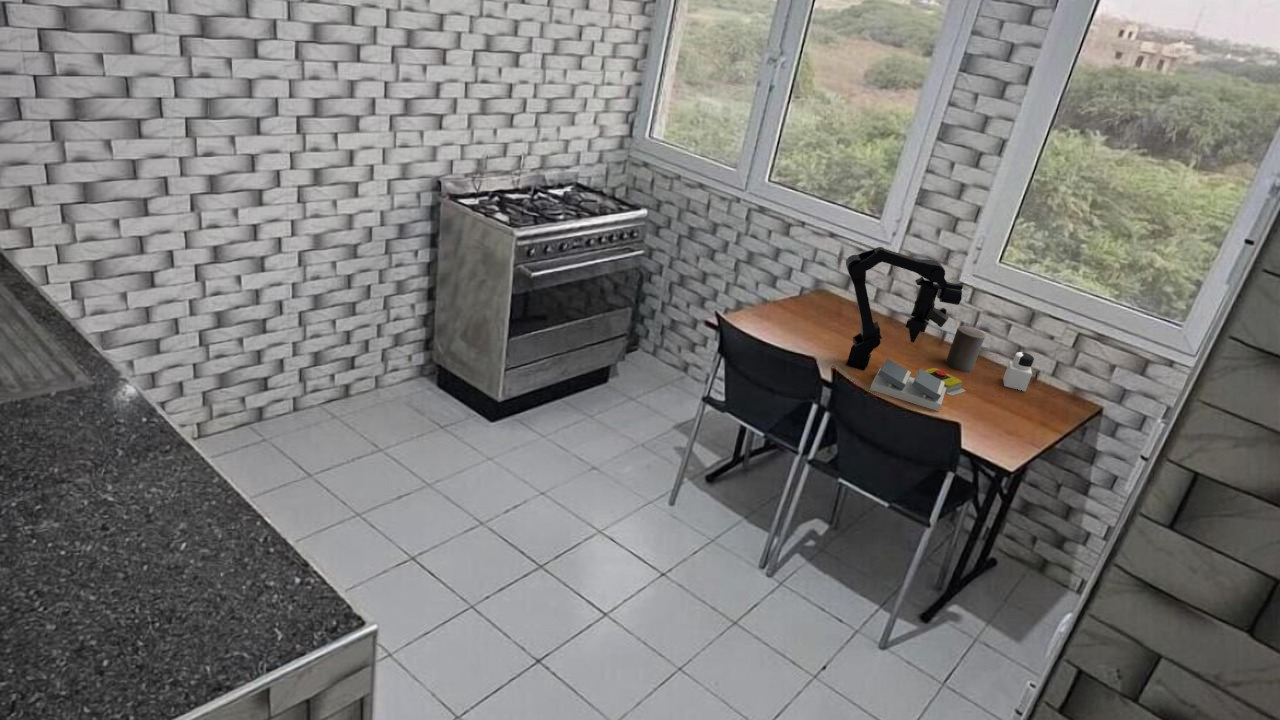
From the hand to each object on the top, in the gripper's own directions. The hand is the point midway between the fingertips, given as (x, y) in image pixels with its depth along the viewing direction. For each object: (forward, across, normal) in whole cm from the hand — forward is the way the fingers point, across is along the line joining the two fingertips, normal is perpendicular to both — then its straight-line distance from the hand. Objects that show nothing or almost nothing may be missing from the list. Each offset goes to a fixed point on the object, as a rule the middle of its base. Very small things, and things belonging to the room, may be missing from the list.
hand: (912, 341), depth 283 cm
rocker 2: (+7, -16, -10) cm, 19 cm away
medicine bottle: (+12, +21, -36) cm, 43 cm away
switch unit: (+12, -14, -4) cm, 19 cm away
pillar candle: (+12, +24, -17) cm, 32 cm away
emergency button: (+13, +1, -13) cm, 18 cm away
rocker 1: (+7, -16, +2) cm, 17 cm away
